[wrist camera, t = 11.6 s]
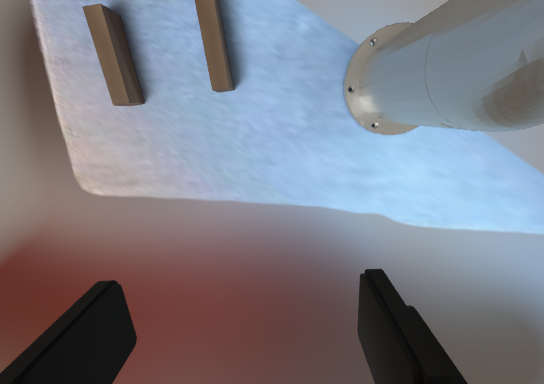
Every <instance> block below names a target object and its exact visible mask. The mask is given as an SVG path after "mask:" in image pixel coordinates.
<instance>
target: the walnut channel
mask: <svg viewBox="0 0 544 384" xmlns="http://www.w3.org/2000/svg"><path fill="white" fill-rule="evenodd" d="M195 4H196V9H197V14H198V19H199V24H200V30H201V35H202V40H203V45H204V50H205V55H206V60H207V65H208V70H209V75H210V81H211V86H212V90H213V91H216V92H226V91H232V90H234V85H233V80H232V74H231V68H230V62H229V56H228V50H227V45H226V39H225V33H224V27H223V21H222V15H221V10H220V4H219V0H195ZM83 10H84V13H85V16H86V19H87V23H88V26H89V29H90V32H91V35H92V39H93V42H94V45H95V48H96V51H97V55H98V58H99V61H100V64H101V67H102V71H103V74H104V77H105V80H106V83H107V87H108V90H109V93H110V96H111V99H112V103H113V105H115V106H134V105H141V104H144V100H143V96H142V93H141V89H140V86H139V82H138V78H137V75H136V71H135V68H134V64H133V60H132V57H131V53H130V49H129V46H128V42H127V39H126V35H125V31H124V28H123V24H122V21H121V17H120V15H118V14H116V13H115V12H113V11H112V10H110V9H108V8H107V7H105V6H103V5H102V4H95V5H90V6H84V7H83Z"/></svg>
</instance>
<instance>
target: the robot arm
mask: <svg viewBox="0 0 544 384" xmlns="http://www.w3.org/2000/svg"><path fill="white" fill-rule="evenodd" d="M370 42H373V46H371V45H370ZM349 87H350V88H351V89H352V90H351V92H349V91H348V88H349ZM343 94H344V99H345V103H346V106H347V109H348V111H349V113H350V114H351V116H352V117H353V119H354V120H355V121H356V122H357V123H358V124H359V125H360V126H362V127H363V128H365V129H366V130H368V131H371V132H374V133H377V134H382V135H397V134H402V133H405V132H408V131H411V130H413V129H415V128H417V127H419V126H429V127H440V128H451V129H461V130H472V131H488V132H506V131H515V130H522V129H526V128H530V127H533V126H537V125H540V124H543V123H544V0H449V1H448V2H446V3H445V4H443V5H442V6H440V7H439V8H437V9H435V10H434V11H432V12H431V13H429V14H428V15H426V16H425V17H423V18H422V19H420V20H419V21H417V22H416V23H397V24H392V25H389V26H386V27H384V28H382V29H380V30H378V31H376V32H375V33H373V34H372V35H371V36H369V37H368V38H367V39H366V40H365V41H364V42H363V43H361V45H360V46H359V47H358V48H357V50H356V51H355V52H354V54H353V56H352V57H351V59H350V61H349V63H348V66H347V69H346V72H345V76H344V82H343ZM372 124H374V127H371V126H372ZM358 336H359V340H360V343H361V346H362V348H363V351H364V354H365V357H366V360H367V363H368V365H369V368H370V371H371V374H372V377H373V379H374V382H375V384H468V383H467V382H466V381H465V379H464V378H463V376H462V375H461V373H460V372H459V371H458V369H457V368H456V366H455V365H454V363H453V362H452V360H451V359H450V358H449V356H448V355H447V353H446V352H445V351H444V349H443V348H442V346H441V345H440V343H439V342H438V341H437V339H436V338H435V336H434V335H433V333H432V332H431V330H430V329H429V327H428V326H427V325H426V323H425V322H424V321H423V319H422V317H421V316H420V315H419V313H418V312H417V310H416V309H415V308H414V307H412V306H406V304H405V303H404V301H403V300H402V298H401V297H400V295H399V294H398V292H397V291H396V289H395V288H394V286H393V285H392V283H391V282H390V280H389V279H388V277H387V276H386V274H385V273H384V271H383V270H382V269H366V270H365V274H361V275H360V288H359V309H358ZM136 340H137V336H136V333H135V330H134V326H133V323H132V320H131V316H130V313H129V309H128V306H127V303H126V300H125V296H124V293H123V290H122V287H121V285H120V284H118V283H117V282H116V281H114V280H113V281H99V282H97V283H96V284H95V285H94V286H93V287H91V288H90V289H89V290H88V291H87V292H86V293H85V294H84V295H83V296H82V297H81V298H80V299H79V300H78V301H76V302H75V303H74V304H73V305H72V306H71V307H70V308H69V309H68V310H67V311H66V312H65V313H64V314H63V315H62V316H61V317H60V318H59V319H57V320H56V321H55V322H54V323H53V324H52V325H51V326H50V327H49V328H48V329H47V330H46V331H45V332H44V333H43V334H42V335H40V336H39V337H38V338H37V339H36V340H35V341H34V342H33V343H32V344H31V345H30V346H29V347H28V348H27V349H26V350H25V351H23V352H22V353H21V354H20V355H19V356H18V357H17V358H16V359H15V360H14V361H13V362H12V363H11V364H10V365H9V366H8V367H7V368H6V369H4V370H3V371H2V372H1V373H0V384H112V383H113V381H114V380H115V378H116V376H117V375H118V373H119V371H120V370H121V368H122V367H123V365H124V363H125V362H126V360H127V358H128V357H129V355H130V353H131V352H132V350H133V348H134V347H135V344H136Z"/></svg>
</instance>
